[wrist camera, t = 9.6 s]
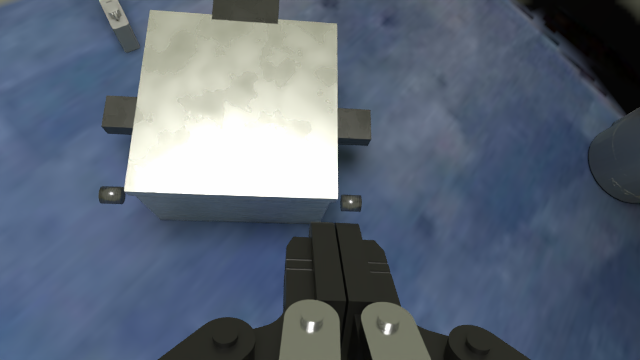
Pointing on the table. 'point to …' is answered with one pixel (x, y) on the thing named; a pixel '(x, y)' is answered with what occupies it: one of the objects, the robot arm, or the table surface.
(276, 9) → the lid
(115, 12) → the lighter
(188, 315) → the table surface
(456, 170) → the table surface
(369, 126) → the grey rectangular box
